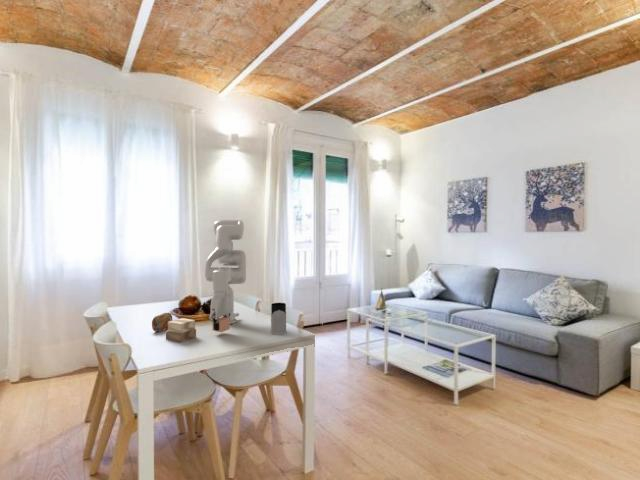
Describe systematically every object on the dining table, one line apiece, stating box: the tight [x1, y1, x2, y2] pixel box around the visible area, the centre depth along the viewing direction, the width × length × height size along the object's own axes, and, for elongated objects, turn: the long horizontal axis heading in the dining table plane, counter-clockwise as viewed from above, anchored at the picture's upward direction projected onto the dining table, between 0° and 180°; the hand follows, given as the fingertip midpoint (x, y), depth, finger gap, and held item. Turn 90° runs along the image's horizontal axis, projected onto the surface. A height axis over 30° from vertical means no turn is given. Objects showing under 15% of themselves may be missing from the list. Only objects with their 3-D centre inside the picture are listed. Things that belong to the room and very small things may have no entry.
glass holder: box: [269, 302, 288, 336], centre depth 200 cm, size 9×14×15 cm, turn 9°
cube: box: [211, 316, 231, 333], centre depth 194 cm, size 6×6×6 cm
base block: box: [165, 328, 197, 343], centre depth 188 cm, size 10×10×4 cm
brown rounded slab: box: [151, 312, 173, 333], centre depth 204 cm, size 15×3×8 cm, turn 168°
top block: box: [167, 317, 196, 333], centre depth 188 cm, size 9×9×4 cm
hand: (221, 328), depth 194 cm, fingers closed on cube, 6 cm apart
